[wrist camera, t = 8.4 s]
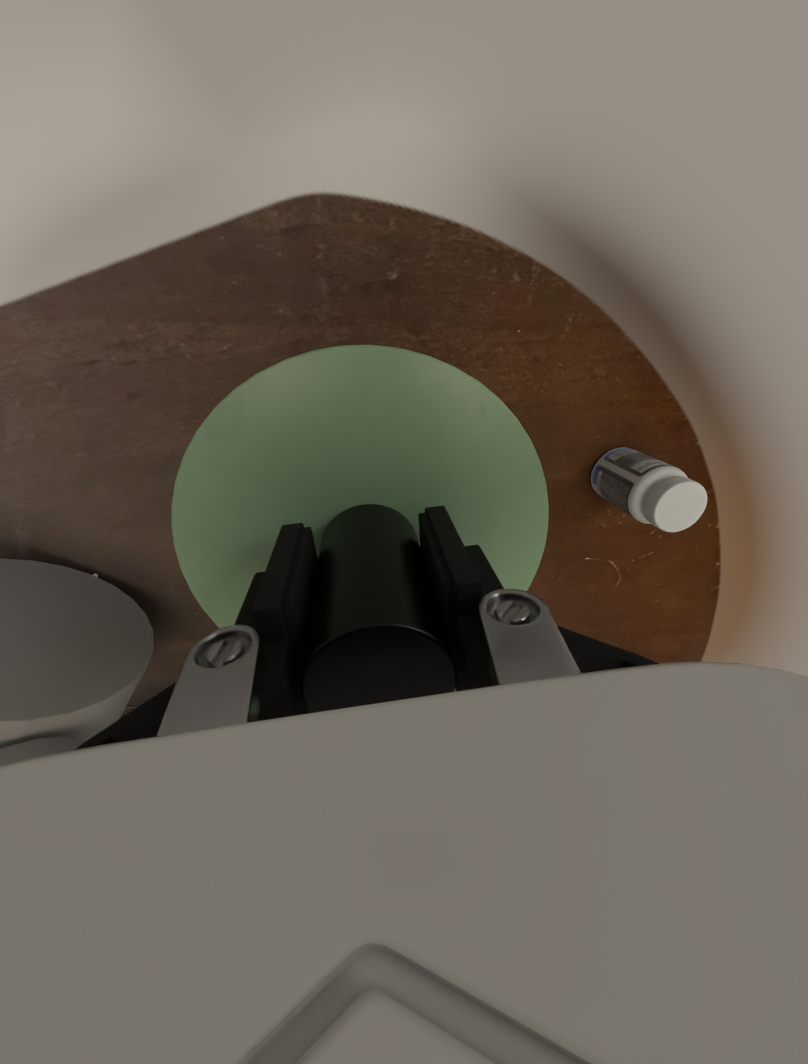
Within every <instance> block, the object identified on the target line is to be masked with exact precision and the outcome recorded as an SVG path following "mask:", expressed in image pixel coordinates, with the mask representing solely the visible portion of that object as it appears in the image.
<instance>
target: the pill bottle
mask: <svg viewBox="0 0 808 1064" xmlns="http://www.w3.org/2000/svg"><path fill="white" fill-rule="evenodd" d="M591 484H592V487H593V489H594V490H595V492H596V493H597V494H599V495H600V496H601V497H603V498H604V499H606V500H607V501H609V502H610V503H612V504H613V505H615V506H616V507H618V508H619V509H621V510H622V511H624V512H625V513H627V514H629V515H630V516H632V517H633V518H634V519H636V520H638V521H640V522H642V523H646V524H652V525H654V526H656V527H657V528H659V529H661V530H663V531H666V532H678V531H681V530H684V529H686V528H688V527H689V526H691V525H692V524H694V523H695V522H696V521H697V520H698V519H699V518H700V516H701V515H702V513H703V512H704V510H705V507H706V504H707V494H706V491H705V489H704V487H703V486H702V485H700V484H699V483H697V482H695V481H693V480H691V479H689V478H687V476H686V474H685V473H684V472H682V471H681V470H680V469H678V468H677V467H674V466H671V465H669V464H667V463H664V462H662V461H659V460H657V459H655V458H652V457H650V456H647V455H645V454H643V453H640V452H638V451H636V450H633V449H630V448H625V447H621V448H616V449H613V450H610V451H608V452H607V453H605V454H604V455H603V456H602V457H601V458H600V459H599V460H598V461H597V463H596V464H595V466H594V468H593V470H592V473H591Z"/></svg>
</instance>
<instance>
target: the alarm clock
mask: <svg viewBox="0 0 808 1064" xmlns="http://www.w3.org/2000/svg"><path fill="white" fill-rule="evenodd" d="M97 577H98V575H97V574H93V575H91V574H88V573H84V572H81V571H78V570H75V569H72V568H69V567H65V566H61V565H55V564H49V563H44V562H38V561H32V560H16V559H0V766H2V765H6V764H10V763H14V762H18V761H22V760H26V759H30V758H34V757H40V756H45V755H51V754H56V753H61V752H67V751H72V750H75V749H76V748H77V747H79V746H80V745H81V744H83V743H84V742H85V741H87V740H89V739H90V738H92V737H93V736H95V735H96V734H98V733H99V732H101V731H102V730H104V729H105V728H107V727H108V726H110V725H112V724H113V723H115V722H116V721H118V720H119V718H120V717H121V715H122V713H123V711H124V709H125V707H126V705H127V704H128V702H129V700H130V698H131V696H132V694H133V692H134V691H135V689H136V687H137V685H138V683H139V681H140V679H141V677H142V676H143V674H144V672H145V670H146V668H147V666H148V663H149V661H150V658H151V655H152V653H153V650H154V642H153V629H152V627H151V625H150V622H149V620H148V618H147V615H146V614H145V612H144V611H143V610H142V609H141V608H140V607H139V606H138V604H137V603H136V602H135V601H134V600H133V599H132V598H131V597H129V596H128V595H127V594H125V593H124V592H122V591H121V590H120V589H118V588H117V587H115V586H114V585H112V584H110V583H108V582H106V581H104V580H101V579H99V578H97Z"/></svg>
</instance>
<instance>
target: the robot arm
mask: <svg viewBox="0 0 808 1064" xmlns="http://www.w3.org/2000/svg"><path fill="white" fill-rule="evenodd" d="M418 520H419V534H420V548H421V551H422V554H423V558H424V561H425V564H426V567H427V571H428V574H429V577H430V581H431V584H432V587H433V591H434V594H435V597H436V600H437V604H438V607H439V610H440V614H441V617H442V620H443V624H444V627H445V630H446V634H447V637H448V640H449V643H450V647H451V650H452V653H453V657H454V660H455V663H456V668H457V680H456V685H455V688H456V692H450V693H443V694H436V695H430V696H423V697H416V698H410V699H403V700H396V701H389V702H383V703H376V704H369V705H363V706H356V707H349V708H342V709H336V710H329V711H322V712H315V713H310V712H309V711H308V710H307V708H306V706H305V704H304V702H303V699H302V697H301V693H300V674H301V668H302V661H303V655H304V648H305V642H306V635H307V629H308V622H309V616H310V609H311V603H312V596H313V589H314V583H315V576H316V570H317V563H318V557H317V553H316V548H315V543H314V538H313V533H312V529H311V527H304V525H303V523H294V524H286V525H282V526H281V529H280V532H279V535H278V538H277V540H276V543H275V546H274V549H273V551H272V554H271V557H270V560H269V562H268V565H267V568H266V571H265V572H258V573H255V575H254V577H253V579H252V582H251V584H250V587H249V589H248V592H247V594H246V597H245V599H244V602H243V604H242V607H241V609H240V612H239V614H238V617H237V619H236V622H235V624H234V625H230V626H226V627H222V628H219V629H216V630H214V631H212V632H210V633H208V634H206V635H205V636H203V637H202V638H200V639H199V640H198V641H197V642H196V643H195V644H194V645H193V646H192V647H191V648H190V650H189V652H188V653H187V655H186V658H185V660H184V663H183V666H182V669H181V671H180V674H179V677H178V679H177V682H176V683H175V684H173V685H171V686H170V687H168V688H167V689H165V690H164V691H162V692H161V693H159V694H158V695H156V696H155V697H153V698H151V699H150V700H148V701H147V702H145V703H144V704H142V705H141V706H139V707H138V708H136V709H135V710H133V711H132V712H130V713H128V714H127V715H125V716H124V717H122V718H121V719H119V720H118V721H116V722H115V723H113V724H112V725H110V726H108V727H107V728H105V729H104V730H102V731H101V732H99V733H98V734H96V735H95V736H93V737H92V738H90V739H89V740H87V741H85V742H84V743H83V744H81V745H80V746H79V747H77V748H76V749H75V750H72V751H67V752H61V753H56V754H51V755H45V756H40V757H34V758H30V759H26V760H22V761H18V762H14V763H10V764H6V765H2V766H0V1064H808V677H807V676H804V675H800V674H796V673H792V672H788V671H784V670H779V669H774V668H767V667H761V666H754V665H746V664H739V663H721V662H676V663H663V664H658V663H656V662H654V661H651V660H649V659H647V658H644V657H642V656H639V655H636V654H633V653H631V652H628V651H625V650H622V649H620V648H617V647H614V646H611V645H609V644H606V643H603V642H600V641H598V640H595V639H592V638H589V637H587V636H584V635H581V634H578V633H576V632H573V631H570V630H567V629H565V628H562V627H559V626H557V625H556V623H555V621H554V620H553V618H552V616H551V614H550V612H549V610H548V608H547V606H546V605H545V603H544V602H543V601H542V599H540V598H539V597H537V596H536V595H534V594H532V593H530V592H527V591H524V590H519V589H504V587H503V586H502V584H501V582H500V581H499V579H498V577H497V575H496V574H495V572H494V570H493V568H492V567H491V565H490V563H489V561H488V560H487V558H486V556H485V554H484V553H483V551H482V549H481V547H480V546H479V545H469V546H464V544H463V542H462V540H461V538H460V536H459V534H458V532H457V530H456V528H455V526H454V524H453V522H452V520H451V518H450V516H449V514H448V512H447V510H446V508H445V506H444V505H443V506H435V507H427V508H425V513H419V514H418Z"/></svg>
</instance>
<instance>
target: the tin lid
mask: <svg viewBox="0 0 808 1064" xmlns="http://www.w3.org/2000/svg"><path fill="white" fill-rule="evenodd" d="M443 505H444V506H445V508H446V510H447V512H448V514H449V516H450V518H451V520H452V522H453V524H454V526H455V528H456V530H457V532H458V534H459V536H460V538H461V540H462V542H463V544H464V546H469V545H479V546H480V547H481V549H482V551H483V553H484V554H485V556H486V558H487V560H488V561H489V563H490V565H491V567H492V568H493V570H494V572H495V574H496V575H497V577H498V579H499V581H500V582H501V584H502V586H503V587H504V589H519V590H524V591H527V589H528V588H529V586H530V584H531V582H532V580H533V578H534V576H535V573H536V571H537V569H538V567H539V564H540V561H541V557H542V554H543V551H544V547H545V542H546V536H547V529H548V496H547V488H546V481H545V477H544V474H543V470H542V467H541V463H540V460H539V457H538V455H537V453H536V451H535V449H534V446H533V444H532V442H531V440H530V438H529V436H528V435H527V433H526V432H525V430H524V429H523V427H522V425H521V424H520V422H519V421H518V419H517V418H516V417H515V415H514V414H513V413H512V412H511V411H510V410H509V409H508V408H507V406H506V405H505V404H504V403H503V402H502V401H501V400H500V399H499V398H498V397H497V396H496V395H495V394H493V393H492V392H491V391H490V390H489V389H487V388H486V387H485V386H484V385H483V384H482V383H480V382H479V381H477V380H476V379H474V378H472V377H471V376H469V375H468V374H466V373H464V372H463V371H461V370H459V369H458V368H456V367H454V366H452V365H449V364H447V363H445V362H442V361H440V360H438V359H435V358H433V357H431V356H428V355H424V354H421V353H417V352H413V351H410V350H406V349H402V348H396V347H388V346H379V345H341V346H335V347H329V348H323V349H317V350H312V351H309V352H306V353H303V354H300V355H297V356H294V357H291V358H288V359H285V360H283V361H281V362H279V363H277V364H275V365H273V366H271V367H269V368H267V369H265V370H263V371H261V372H259V373H257V374H255V375H254V376H252V377H251V378H250V379H248V380H247V381H245V382H244V383H242V384H241V385H240V386H238V387H237V388H235V389H234V390H233V391H232V392H230V393H229V394H228V395H227V396H226V397H225V398H224V399H223V400H222V401H221V402H220V403H219V404H218V405H217V406H216V407H215V408H214V409H213V410H212V411H211V412H210V414H209V415H208V416H207V418H206V419H205V420H204V422H203V423H202V424H201V426H200V427H199V428H198V430H197V431H196V433H195V435H194V436H193V438H192V440H191V442H190V444H189V446H188V448H187V450H186V451H185V453H184V456H183V459H182V462H181V465H180V467H179V470H178V473H177V476H176V480H175V486H174V492H173V498H172V533H173V539H174V546H175V551H176V554H177V558H178V561H179V564H180V567H181V571H182V573H183V575H184V577H185V579H186V581H187V583H188V586H189V588H190V590H191V592H192V593H193V595H194V596H195V598H196V599H197V601H198V602H199V604H200V605H201V607H202V608H203V610H204V611H205V612H206V613H207V615H208V616H209V617H210V618H211V619H212V620H213V621H214V623H215V624H216V625H217V626H218V627H219V628H222V627H226V626H230V625H234V624H235V622H236V619H237V617H238V614H239V612H240V609H241V607H242V604H243V602H244V599H245V597H246V594H247V592H248V589H249V587H250V584H251V582H252V579H253V577H254V575H255V573H258V572H265V571H266V568H267V565H268V562H269V560H270V557H271V554H272V551H273V549H274V546H275V543H276V540H277V538H278V535H279V532H280V529H281V526H282V525H286V524H294V523H303V525H304V527H311V529H312V533H313V538H314V543H315V548H316V553H317V557H318V563H317V570H316V576H315V583H314V589H313V596H312V603H311V609H310V616H309V622H308V629H307V635H306V642H305V648H304V655H303V661H302V668H301V674H300V693H301V697H302V699H303V702H304V704H305V706H306V708H307V710H308V711H309V712H310V713H315V712H322V711H329V710H336V709H342V708H349V707H356V706H363V705H369V704H376V703H383V702H389V701H396V700H403V699H410V698H416V697H423V696H430V695H436V694H443V693H450V692H454V689H455V685H456V680H457V668H456V663H455V660H454V657H453V653H452V650H451V647H450V643H449V640H448V637H447V634H446V630H445V627H444V624H443V620H442V617H441V614H440V610H439V607H438V604H437V600H436V597H435V594H434V591H433V587H432V584H431V581H430V577H429V574H428V571H427V567H426V564H425V561H424V558H423V554H422V551H421V548H420V534H419V520H418V514H419V513H425V508H427V507H435V506H443Z"/></svg>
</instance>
